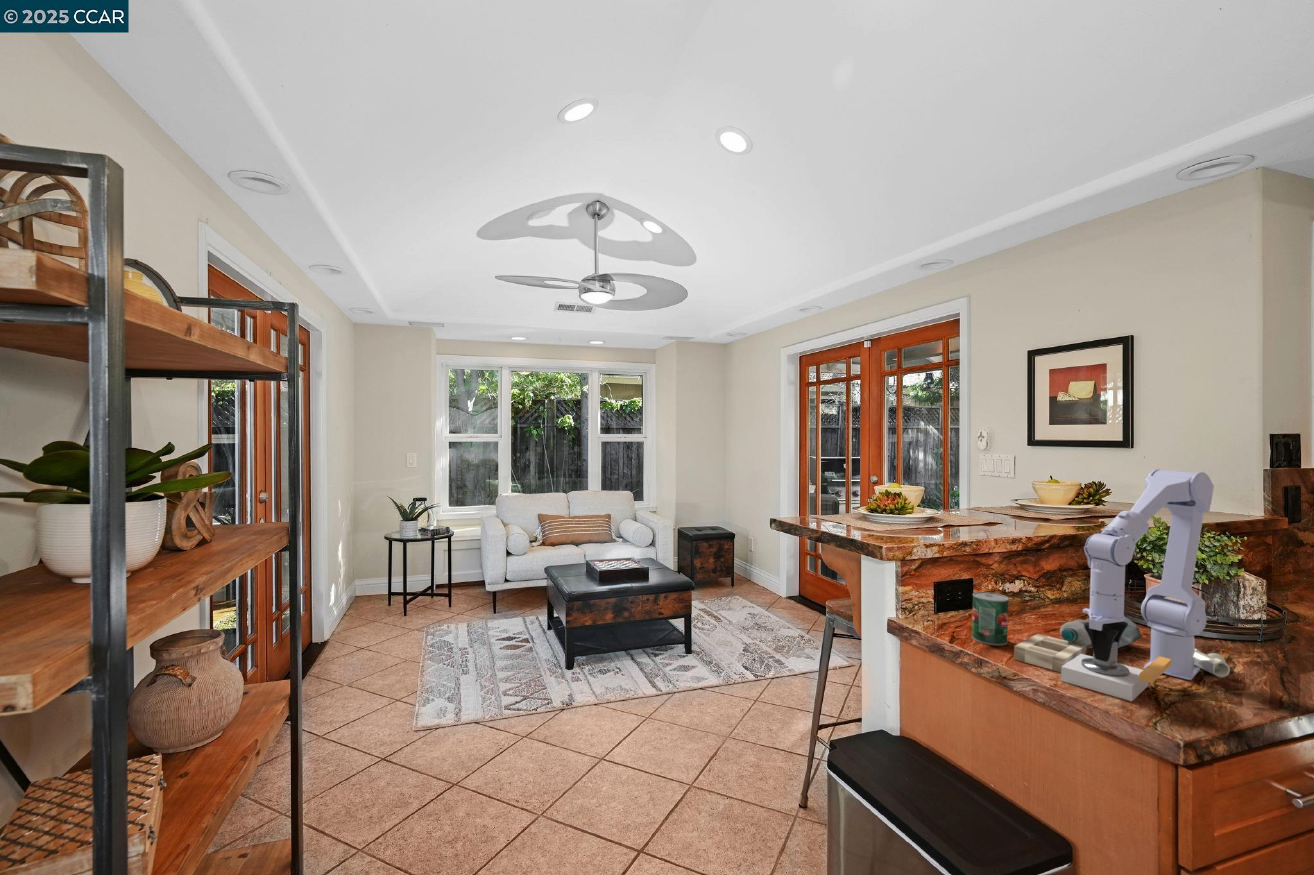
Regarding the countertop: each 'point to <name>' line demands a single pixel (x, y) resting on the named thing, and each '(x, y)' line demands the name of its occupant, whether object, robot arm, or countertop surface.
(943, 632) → the countertop surface
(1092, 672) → the socket block
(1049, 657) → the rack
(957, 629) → the countertop surface
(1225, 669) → the pipe fitting
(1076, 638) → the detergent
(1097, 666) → the glossy grey dome knob
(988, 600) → the canned tomato
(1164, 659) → the bar
